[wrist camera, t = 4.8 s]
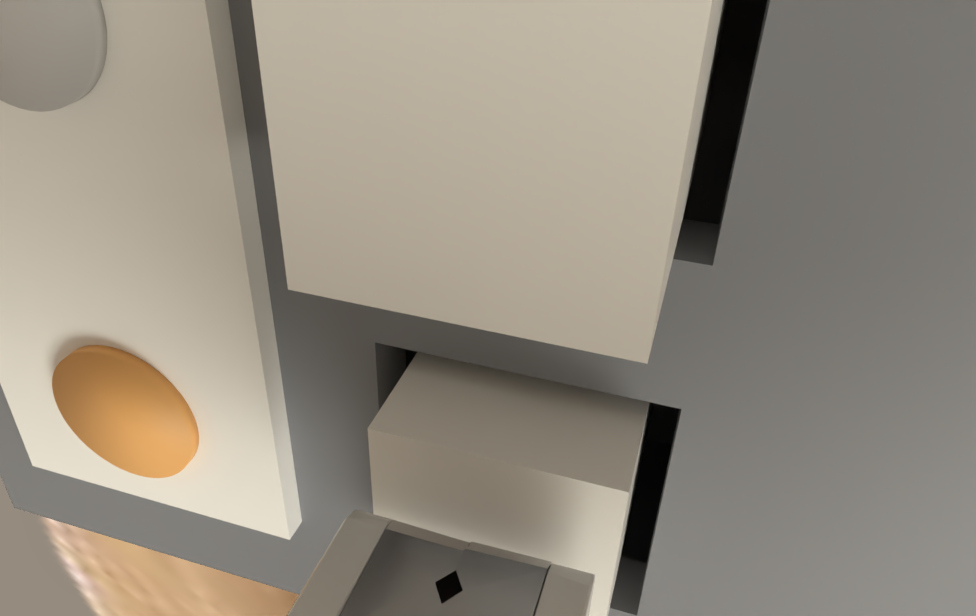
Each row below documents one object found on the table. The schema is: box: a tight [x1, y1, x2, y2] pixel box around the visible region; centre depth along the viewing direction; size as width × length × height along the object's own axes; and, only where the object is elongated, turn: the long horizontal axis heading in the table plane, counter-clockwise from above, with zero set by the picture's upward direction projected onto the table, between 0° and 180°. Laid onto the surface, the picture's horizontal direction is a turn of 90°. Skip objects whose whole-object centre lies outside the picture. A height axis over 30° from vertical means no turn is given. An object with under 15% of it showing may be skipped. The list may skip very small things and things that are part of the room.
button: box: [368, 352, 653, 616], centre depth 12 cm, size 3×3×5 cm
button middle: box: [251, 0, 728, 364], centre depth 8 cm, size 3×3×5 cm
